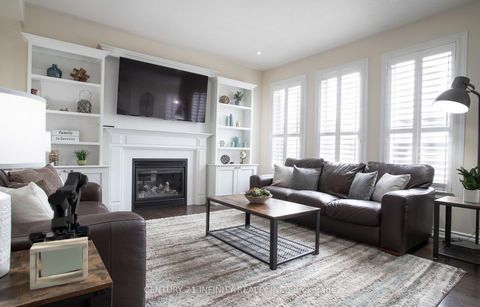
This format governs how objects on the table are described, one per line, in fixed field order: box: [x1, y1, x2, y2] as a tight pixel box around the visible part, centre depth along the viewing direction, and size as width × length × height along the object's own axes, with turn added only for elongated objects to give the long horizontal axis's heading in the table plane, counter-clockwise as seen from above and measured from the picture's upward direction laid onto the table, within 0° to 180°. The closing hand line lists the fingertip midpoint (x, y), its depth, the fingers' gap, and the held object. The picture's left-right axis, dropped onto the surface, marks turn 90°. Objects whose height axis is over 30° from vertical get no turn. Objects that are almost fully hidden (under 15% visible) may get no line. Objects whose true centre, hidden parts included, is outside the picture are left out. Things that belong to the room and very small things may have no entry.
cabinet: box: [29, 237, 89, 291], centre depth 91 cm, size 6×16×13 cm, turn 117°
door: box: [40, 246, 83, 278], centre depth 96 cm, size 3×12×10 cm, turn 133°
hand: (59, 257), depth 96 cm, fingers closed
